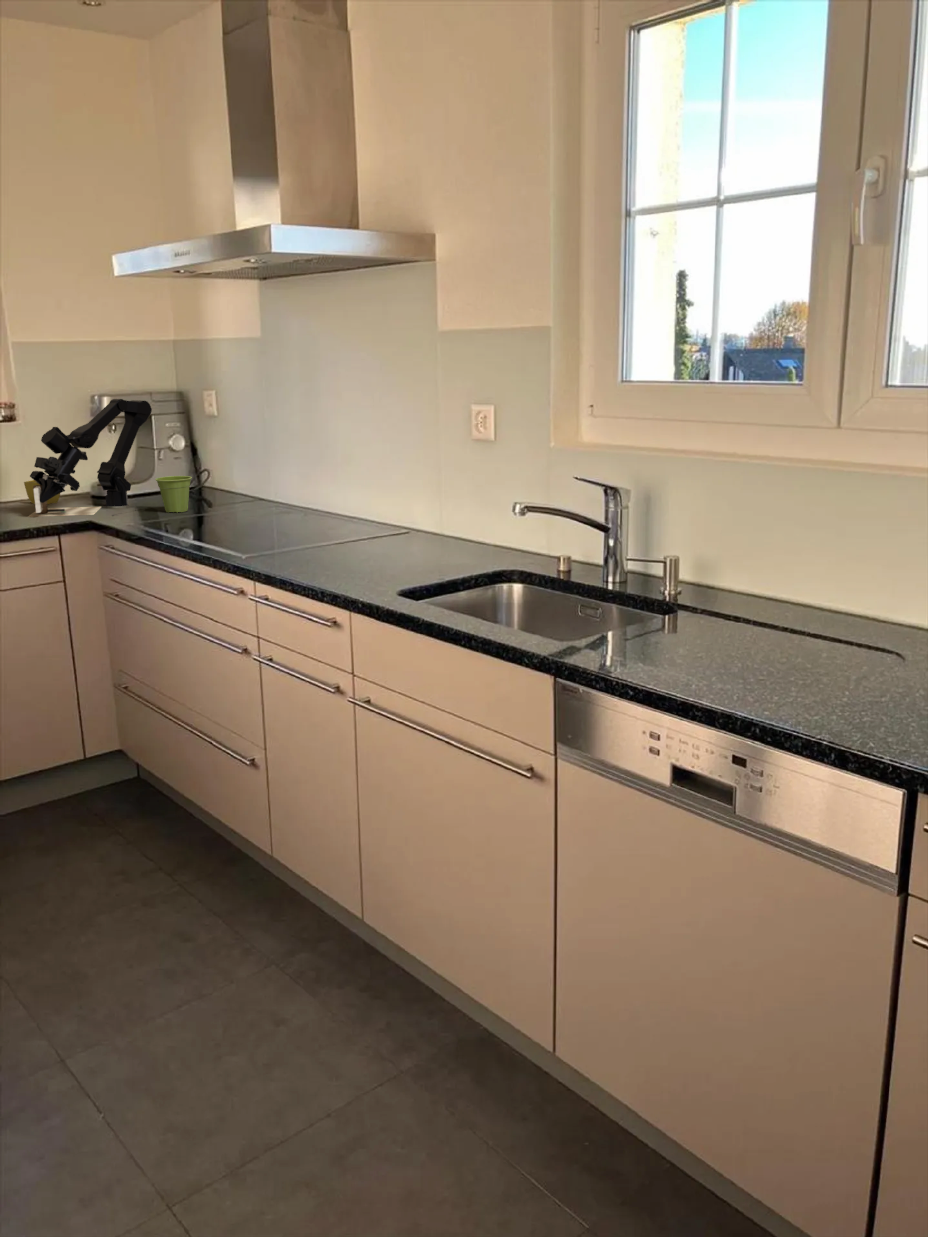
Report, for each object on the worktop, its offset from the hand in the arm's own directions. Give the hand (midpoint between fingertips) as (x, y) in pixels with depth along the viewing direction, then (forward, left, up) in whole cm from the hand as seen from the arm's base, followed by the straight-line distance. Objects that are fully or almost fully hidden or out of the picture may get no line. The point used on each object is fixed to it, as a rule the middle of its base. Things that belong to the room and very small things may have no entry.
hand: (40, 501), depth 322 cm
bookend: (-1, -3, -4) cm, 5 cm away
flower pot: (+6, -32, -6) cm, 33 cm away
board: (-5, -9, -6) cm, 12 cm away
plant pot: (-40, -9, -6) cm, 42 cm away
